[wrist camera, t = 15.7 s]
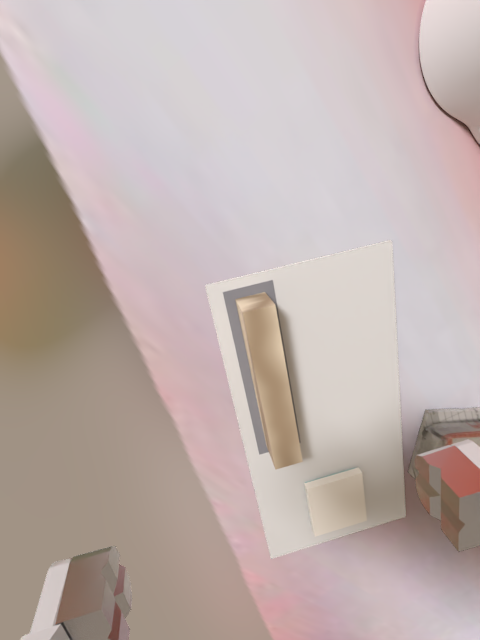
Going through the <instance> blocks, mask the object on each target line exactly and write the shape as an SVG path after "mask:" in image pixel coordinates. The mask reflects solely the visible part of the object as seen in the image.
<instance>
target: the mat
mask: <svg viewBox="0 0 480 640" xmlns="http://www.w3.org/2000/svg"><path fill="white" fill-rule="evenodd" d="M205 288H206V292H207V297H208V301H209V305H210V309H211V313H212V317H213V321H214V325H215V330H216V334H217V338H218V342H219V346H220V350H221V354H222V359H223V363H224V367H225V371H226V375H227V379H228V383H229V387H230V392H231V396H232V400H233V404H234V408H235V412H236V416H237V421H238V425H239V429H240V433H241V437H242V441H243V445H244V450H245V454H246V458H247V462H248V466H249V470H250V474H251V478H252V483H253V487H254V491H255V495H256V499H257V503H258V507H259V512H260V516H261V520H262V524H263V528H264V532H265V536H266V540H267V545H268V549H269V553H270V557H271V559H273V558H276V557H279V556H282V555H285V554H289V553H292V552H295V551H298V550H301V549H305V548H308V547H311V546H314V545H317V544H321V543H324V542H327V541H330V540H333V539H337V538H340V537H343V536H346V535H349V534H353V533H356V532H359V531H362V530H365V529H368V528H372V527H375V526H378V525H381V524H384V523H388V522H391V521H394V520H397V519H400V518H404V517H406V507H405V487H404V467H403V447H402V427H401V407H400V387H399V367H398V348H397V328H396V308H395V288H394V268H393V248H392V240H388V241H383V242H379V243H375V244H371V245H367V246H363V247H359V248H355V249H351V250H346V251H342V252H338V253H334V254H330V255H326V256H322V257H318V258H314V259H309V260H305V261H301V262H297V263H293V264H289V265H285V266H281V267H277V268H272V269H268V270H264V271H260V272H256V273H252V274H248V275H244V276H240V277H235V278H231V279H227V280H223V281H219V282H215V283H211V284H207V285H205ZM263 292H265V293H266V294H267V295H268V296H269V298H270V299H271V300H272V301H273V302H274V304H275V305H276V311H277V317H278V322H279V328H280V334H281V340H282V345H283V351H284V357H285V363H286V368H287V374H288V380H289V386H290V391H291V397H292V403H293V409H294V414H295V420H296V426H297V432H298V437H299V443H300V449H301V455H302V461H303V462H300V463H297V464H293V465H290V466H287V467H283V468H280V469H276V470H275V467H274V464H273V462H272V459H271V456H270V454H269V451H268V448H267V446H266V441H265V436H264V432H263V427H262V422H261V418H260V413H259V408H258V404H257V399H256V394H255V390H254V385H253V380H252V376H251V371H250V366H249V362H248V357H247V352H246V348H245V343H244V338H243V334H242V329H241V324H240V320H239V315H238V310H237V306H236V301H235V299H238V298H242V297H246V296H250V295H254V294H259V293H263ZM357 467H359V469H360V470H361V472H362V476H363V486H364V496H365V506H366V516H367V521H364V522H361V523H358V524H355V525H351V526H348V527H345V528H342V529H338V530H335V531H332V532H329V533H325V534H322V535H319V536H316V537H315V536H314V533H313V531H312V526H311V520H310V514H309V509H308V503H307V497H306V491H305V486H304V483H305V482H308V481H312V480H315V479H318V478H322V477H325V476H328V475H332V474H335V473H339V472H342V471H345V470H349V469H352V468H357Z"/></svg>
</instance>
